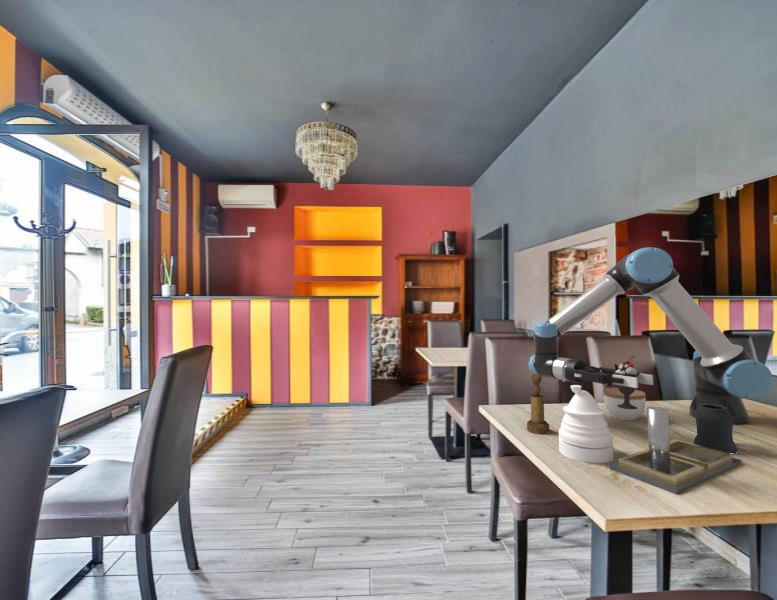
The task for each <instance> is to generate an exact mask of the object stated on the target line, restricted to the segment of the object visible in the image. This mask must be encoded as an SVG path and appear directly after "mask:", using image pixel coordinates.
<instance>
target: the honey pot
mask: <svg viewBox="0 0 777 600" xmlns="http://www.w3.org/2000/svg"><path fill="white" fill-rule="evenodd" d="M570 389H571V391H572V393H574V395H573V396H572V398H571V400H569V403H568V404H567V405H564V406H563V407H562V411H563V412H565V413H564V415H563V417H562V419H561V423H560V427H559V429H558V450H559V453H560V454H561V455H562V456H564V457H566V458H567V459H568V458H569V459H571V460H574V461H577V462H582V463H586V464H587V463H588V464H606V463H609V462H612V461H613V460H614V457H615V456H614V444H613V443H614V441H613V435H612V433H611V432H610V431H611V430H610V428H609V427H608V425H609V424H608V422H607V421H606V419H605V417H604V416H605V414H606V411H605V410H604V409H603V408H601V407H600V405H599V404H598V402H597V401H596V399H595V398H594V397H593V395H592V394H591V393H590V392H589V391H586V390H583V389H582V385H579V384H572V385H570Z"/></svg>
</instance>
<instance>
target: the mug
mask: <svg viewBox="0 0 777 600" xmlns="http://www.w3.org/2000/svg"><path fill="white" fill-rule="evenodd" d="M695 414H696V417H695V424H696V436H695V437H694V441H693V443H692V444H696V445H700V446H703V447H707V448H711V449H715V450H719V451H722V452H726V453H736V452H737V451H738V447H737V444H736V443H735V441H734V439H733V434H734V433H733V428H734V425H733V421H732V416H731V414H730V413H729V412H728V409H727V408H726V407H724V406H721V405H715V404H700V405H699V409H698V410H697V411H696V412H695ZM738 452H739V451H738Z"/></svg>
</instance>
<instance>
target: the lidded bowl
mask: <svg viewBox="0 0 777 600" xmlns="http://www.w3.org/2000/svg"><path fill="white" fill-rule="evenodd" d="M602 394H603V402H604V406H605V408H606V410H607V411H608V413H609V414H610V415H611V416H612V418H613V419H616V418H617V419H616V420H621V421H626V420H634V421H637V420H638V419H639V418H640V417H641V416H643V414H644V412H645V410H646V404H647V403H646V402H647V401H646V400H647V399H646V397H647V394H646V393H645V391H642V390H639V389H635V391H634V392H633V393H632V394H631V395H630V396H629V401H630V404H631V405H633V406H636V407H637V409H623V408H619V407H618V406H617V405H619V404H623V403H624V395H623V394H622V393H621V392H620V391H619V389H618V387H607V388H604V389H603V390H602ZM636 419H637V420H636Z"/></svg>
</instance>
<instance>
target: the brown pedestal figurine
mask: <svg viewBox="0 0 777 600" xmlns="http://www.w3.org/2000/svg"><path fill="white" fill-rule="evenodd" d="M542 378H543V377H542V376H540V375H539V374H533V373H532V375H531V382H532V383H533V385H534V386H533V387H532V391H533V394H530V419H529V420H528V421H527V422H526V430H527V432H529V431H530V432H529V433H531V434H536V433H538V434H540V435H543V434H542V433H546V434H549V433H550V424H549V423H548V422H547V421H546V420H545V403H544V402H545V401H544V400H545V397H544V395H542V394H541V390H542V389H541V387H540V384H541V382H542ZM548 432H549V433H548ZM538 434H537V435H538Z"/></svg>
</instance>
